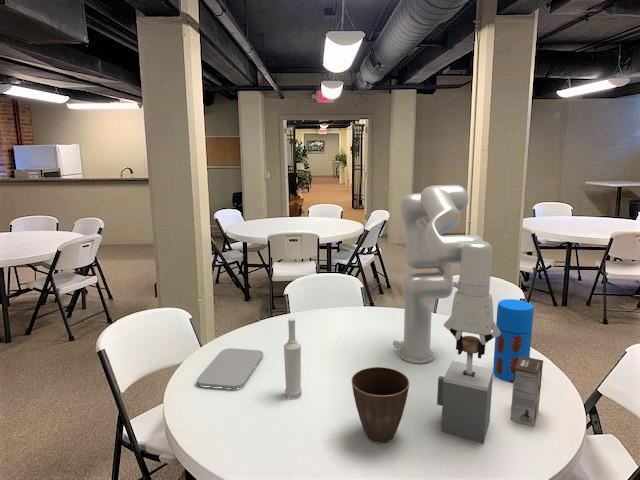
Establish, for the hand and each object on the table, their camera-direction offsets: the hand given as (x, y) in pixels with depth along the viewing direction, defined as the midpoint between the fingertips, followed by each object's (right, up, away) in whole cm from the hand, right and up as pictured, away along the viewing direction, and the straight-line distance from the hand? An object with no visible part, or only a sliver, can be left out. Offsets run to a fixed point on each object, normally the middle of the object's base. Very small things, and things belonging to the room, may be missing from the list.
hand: (470, 353), depth 121 cm
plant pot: (-24, -22, +1) cm, 33 cm away
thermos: (+24, -15, +32) cm, 43 cm away
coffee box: (+19, -20, +9) cm, 29 cm away
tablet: (-70, -16, +38) cm, 82 cm away
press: (-1, -21, +5) cm, 22 cm away
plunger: (0, -14, +3) cm, 15 cm away
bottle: (-48, -18, +22) cm, 56 cm away
